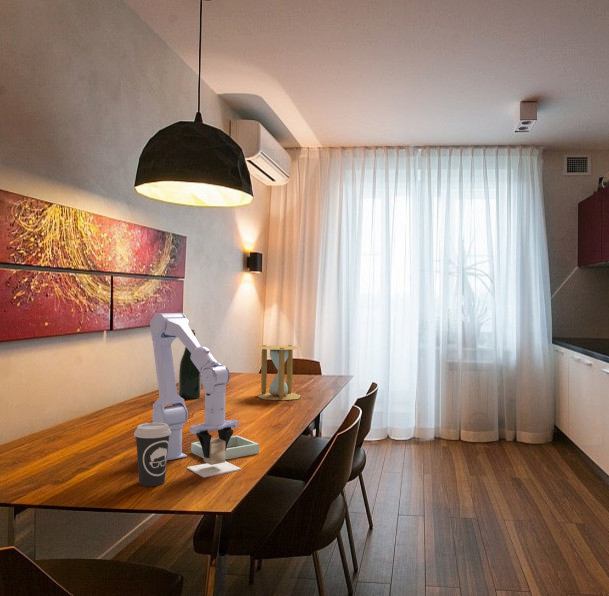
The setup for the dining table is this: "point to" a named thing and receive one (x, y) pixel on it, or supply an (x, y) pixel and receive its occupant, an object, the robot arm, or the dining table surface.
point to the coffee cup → (152, 452)
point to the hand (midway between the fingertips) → (214, 455)
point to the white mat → (213, 469)
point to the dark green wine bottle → (189, 377)
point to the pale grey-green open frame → (243, 448)
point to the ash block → (216, 452)
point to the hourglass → (278, 385)
